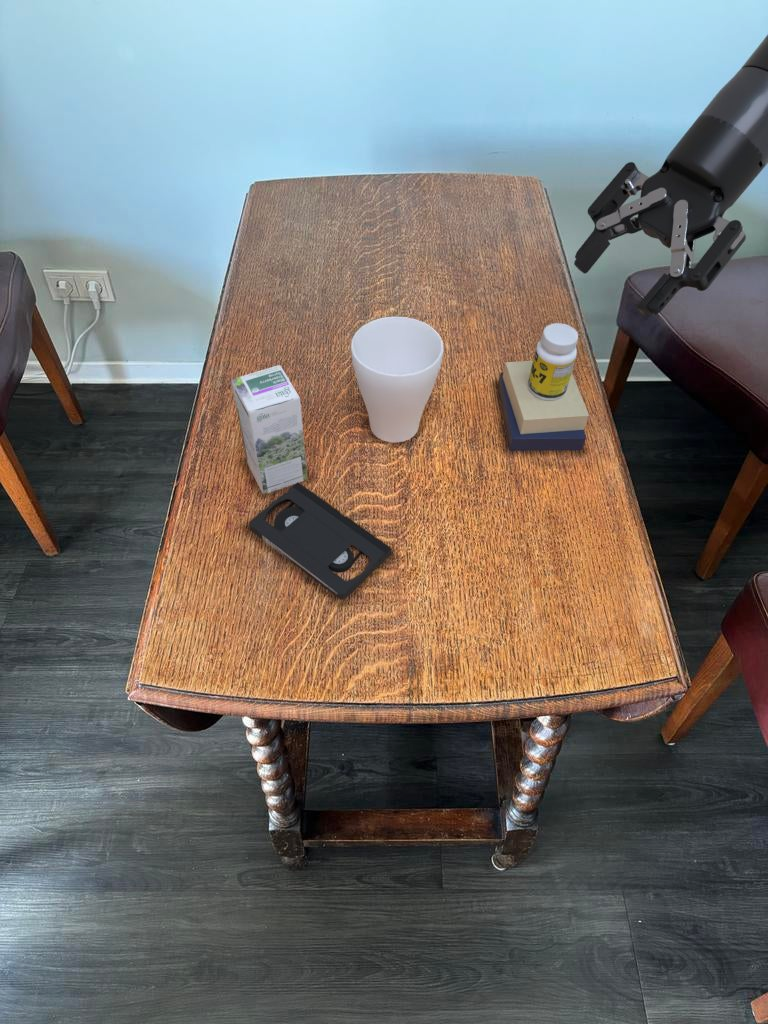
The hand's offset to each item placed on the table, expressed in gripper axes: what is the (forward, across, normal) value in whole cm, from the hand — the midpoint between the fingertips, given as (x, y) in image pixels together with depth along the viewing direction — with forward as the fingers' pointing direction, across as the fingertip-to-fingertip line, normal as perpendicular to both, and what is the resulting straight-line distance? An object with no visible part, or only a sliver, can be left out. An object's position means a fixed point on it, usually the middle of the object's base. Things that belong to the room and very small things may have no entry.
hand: (609, 290), depth 70 cm
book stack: (+15, -7, +19) cm, 25 cm away
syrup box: (+39, -17, -4) cm, 42 cm away
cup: (+27, -16, +7) cm, 32 cm away
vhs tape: (+40, -5, -5) cm, 40 cm away
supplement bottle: (+12, -6, +15) cm, 20 cm away
